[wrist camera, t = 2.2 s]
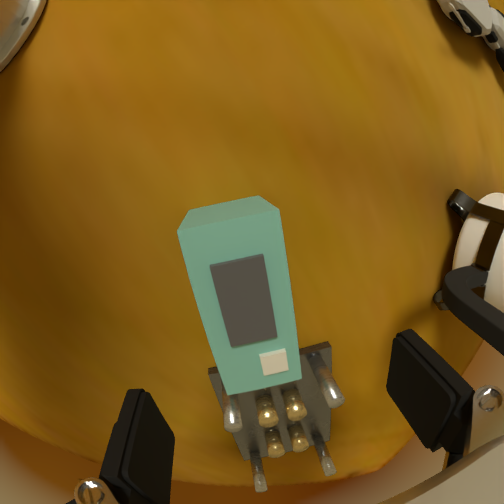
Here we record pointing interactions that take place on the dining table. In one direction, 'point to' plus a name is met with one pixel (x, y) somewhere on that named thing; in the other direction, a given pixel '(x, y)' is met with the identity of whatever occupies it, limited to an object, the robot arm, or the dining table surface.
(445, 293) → the coffee press
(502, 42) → the robot toy
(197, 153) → the dining table surface
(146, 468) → the robot arm
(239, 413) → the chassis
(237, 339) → the teal block
